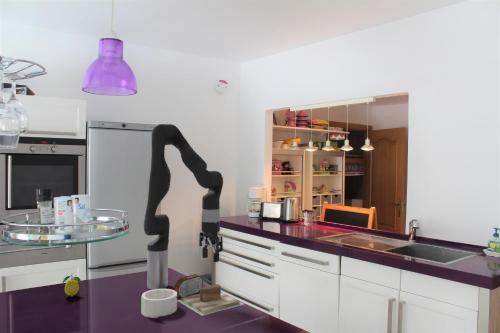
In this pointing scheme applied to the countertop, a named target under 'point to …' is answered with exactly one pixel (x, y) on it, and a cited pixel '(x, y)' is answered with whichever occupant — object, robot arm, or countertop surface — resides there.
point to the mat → (207, 312)
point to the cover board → (210, 304)
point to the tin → (188, 285)
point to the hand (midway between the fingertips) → (210, 259)
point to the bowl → (158, 302)
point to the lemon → (71, 285)
